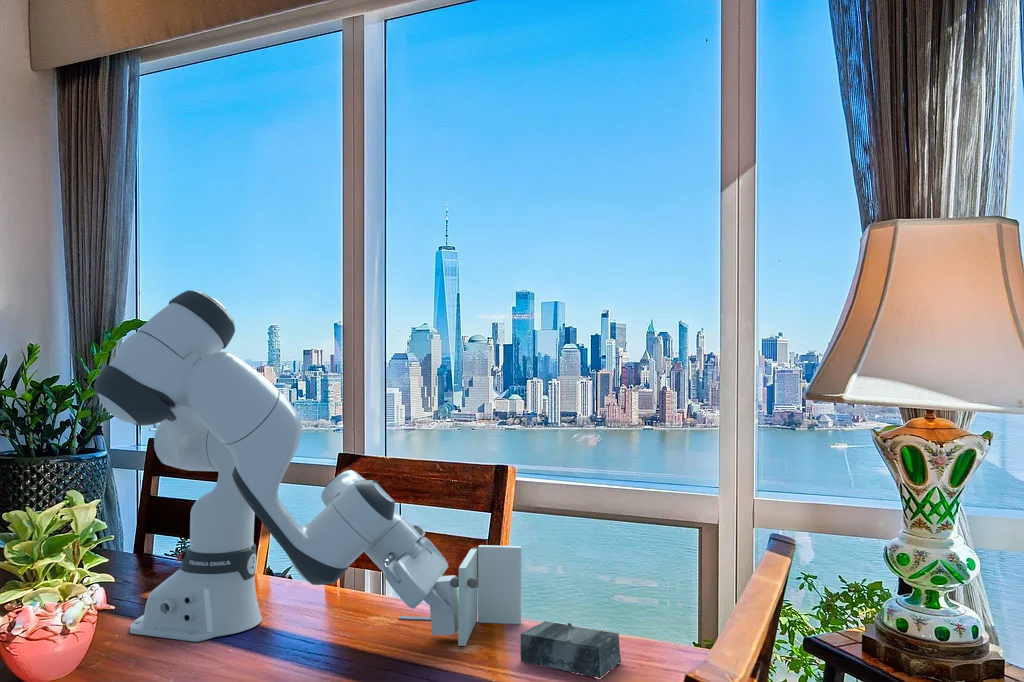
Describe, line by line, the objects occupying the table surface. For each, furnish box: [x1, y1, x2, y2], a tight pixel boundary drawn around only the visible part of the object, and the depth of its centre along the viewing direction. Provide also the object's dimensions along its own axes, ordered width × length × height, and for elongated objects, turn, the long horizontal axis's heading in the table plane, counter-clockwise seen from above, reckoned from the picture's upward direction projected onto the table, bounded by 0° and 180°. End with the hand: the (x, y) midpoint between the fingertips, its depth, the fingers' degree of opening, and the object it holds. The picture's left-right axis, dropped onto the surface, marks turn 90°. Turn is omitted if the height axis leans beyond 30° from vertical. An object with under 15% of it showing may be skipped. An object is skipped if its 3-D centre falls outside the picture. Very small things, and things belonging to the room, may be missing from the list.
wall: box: [398, 544, 522, 625], centre depth 145 cm, size 23×1×14 cm, turn 84°
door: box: [450, 547, 478, 647], centre depth 138 cm, size 15×5×13 cm, turn 174°
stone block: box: [519, 620, 622, 678], centre depth 125 cm, size 9×14×5 cm, turn 57°
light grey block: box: [429, 574, 459, 636], centre depth 135 cm, size 4×4×9 cm
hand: (450, 606), depth 134 cm, fingers closed on light grey block, 4 cm apart
